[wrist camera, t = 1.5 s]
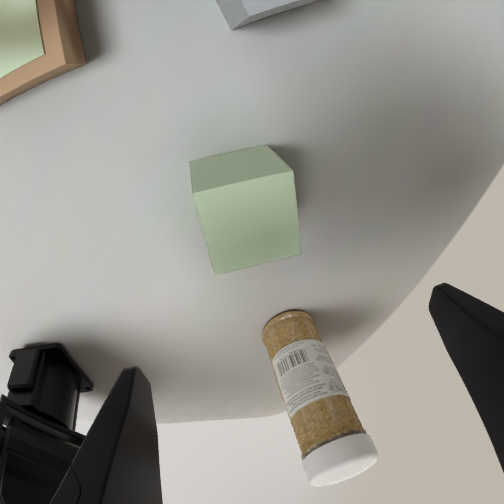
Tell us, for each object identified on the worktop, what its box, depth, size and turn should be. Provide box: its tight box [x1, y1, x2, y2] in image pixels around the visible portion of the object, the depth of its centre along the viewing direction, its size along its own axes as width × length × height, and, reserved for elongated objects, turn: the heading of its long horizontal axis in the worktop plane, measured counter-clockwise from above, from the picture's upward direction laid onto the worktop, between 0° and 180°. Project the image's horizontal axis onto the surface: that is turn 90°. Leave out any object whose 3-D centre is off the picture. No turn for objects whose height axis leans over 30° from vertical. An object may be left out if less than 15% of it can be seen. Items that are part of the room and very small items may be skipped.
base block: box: [0, 0, 86, 105], centre depth 10 cm, size 7×7×4 cm
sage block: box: [190, 145, 302, 276], centre depth 17 cm, size 4×4×5 cm
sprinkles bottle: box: [262, 311, 378, 486], centre depth 21 cm, size 5×5×13 cm
